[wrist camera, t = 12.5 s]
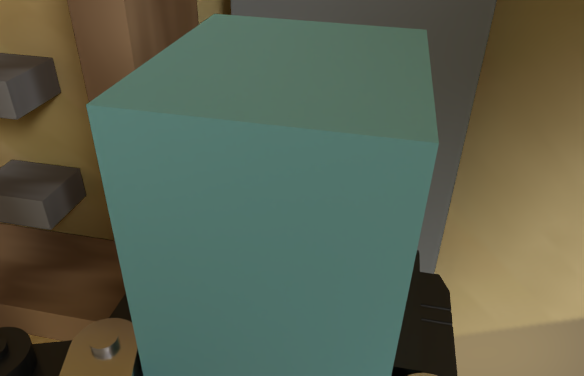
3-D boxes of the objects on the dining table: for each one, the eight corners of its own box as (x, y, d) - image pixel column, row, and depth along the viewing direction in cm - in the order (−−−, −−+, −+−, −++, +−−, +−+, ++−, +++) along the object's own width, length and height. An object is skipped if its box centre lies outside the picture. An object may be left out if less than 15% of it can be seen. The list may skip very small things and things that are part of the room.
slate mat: (519, -125, 15) (525, -125, 14) (426, 287, 24) (427, 302, 23) (234, -132, 17) (224, -132, 16) (248, 260, 26) (243, 273, 25)
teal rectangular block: (426, 30, 9) (439, 143, 5) (356, 447, 17) (340, 622, 13) (214, 13, 10) (85, 104, 6) (237, 422, 18) (187, 583, 14)
